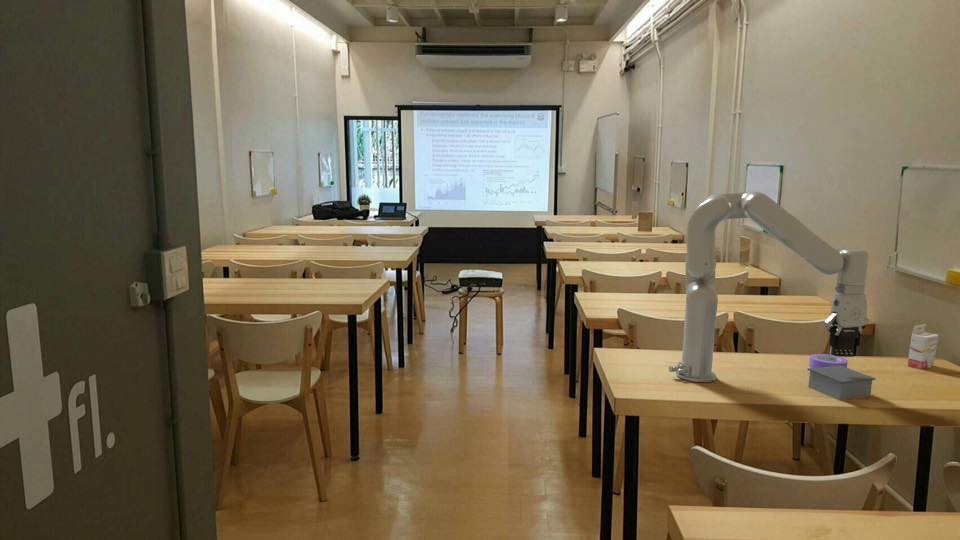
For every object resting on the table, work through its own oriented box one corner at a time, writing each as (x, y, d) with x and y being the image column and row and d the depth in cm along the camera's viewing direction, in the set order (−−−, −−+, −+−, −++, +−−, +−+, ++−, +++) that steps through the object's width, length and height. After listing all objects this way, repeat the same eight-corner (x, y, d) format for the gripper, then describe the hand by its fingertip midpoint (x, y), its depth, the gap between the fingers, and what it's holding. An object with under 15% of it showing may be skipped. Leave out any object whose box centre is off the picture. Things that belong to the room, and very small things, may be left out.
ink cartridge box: (922, 370, 224) (927, 329, 221) (906, 366, 228) (912, 325, 225) (934, 366, 228) (940, 326, 225) (919, 362, 232) (924, 323, 230)
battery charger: (834, 357, 197) (838, 321, 195) (828, 353, 200) (832, 318, 198) (857, 358, 196) (861, 321, 195) (850, 354, 200) (854, 318, 198)
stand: (839, 401, 192) (841, 381, 191) (805, 386, 205) (807, 368, 204) (872, 397, 196) (875, 378, 195) (837, 383, 208) (839, 365, 207)
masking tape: (802, 363, 229) (803, 353, 229) (834, 363, 230) (835, 353, 229) (820, 374, 218) (821, 363, 217) (854, 374, 218) (855, 363, 218)
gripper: (837, 293, 189) (831, 351, 192) (883, 290, 194) (876, 347, 197) (817, 288, 196) (812, 344, 199) (861, 286, 201) (855, 340, 204)
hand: (844, 345), depth 198 cm, fingers closed on battery charger, 7 cm apart
